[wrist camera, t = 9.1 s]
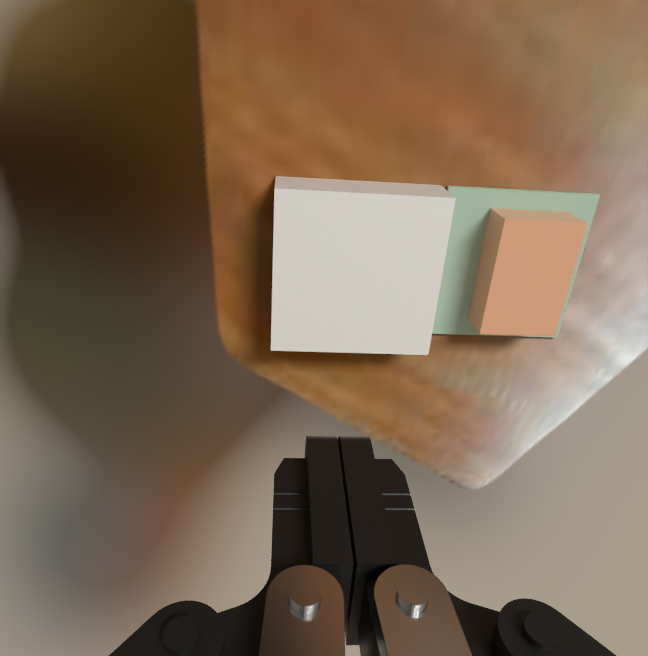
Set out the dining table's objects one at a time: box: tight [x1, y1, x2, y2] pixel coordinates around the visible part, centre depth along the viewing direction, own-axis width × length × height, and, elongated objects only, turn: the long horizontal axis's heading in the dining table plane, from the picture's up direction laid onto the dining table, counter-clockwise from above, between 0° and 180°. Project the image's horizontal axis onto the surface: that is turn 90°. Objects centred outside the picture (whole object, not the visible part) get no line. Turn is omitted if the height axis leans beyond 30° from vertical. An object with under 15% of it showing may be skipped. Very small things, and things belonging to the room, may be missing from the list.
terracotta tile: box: [468, 208, 588, 336], centre depth 40 cm, size 9×6×3 cm, turn 176°
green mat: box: [432, 186, 600, 338], centre depth 42 cm, size 12×12×1 cm
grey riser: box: [271, 176, 456, 355], centre depth 39 cm, size 12×12×4 cm
